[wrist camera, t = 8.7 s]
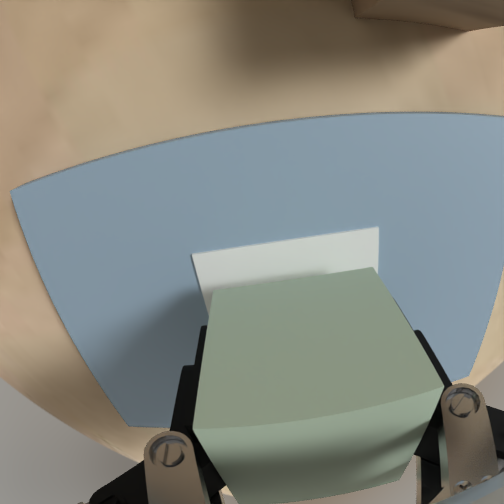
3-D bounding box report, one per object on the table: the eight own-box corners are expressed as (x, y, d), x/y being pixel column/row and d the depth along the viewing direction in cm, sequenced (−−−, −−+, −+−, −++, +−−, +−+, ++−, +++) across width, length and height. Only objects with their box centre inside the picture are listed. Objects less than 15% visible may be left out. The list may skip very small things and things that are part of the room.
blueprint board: (23, 184, 11) (8, 192, 10) (502, 116, 9) (519, 119, 8) (132, 413, 17) (127, 427, 16) (461, 364, 15) (469, 376, 14)
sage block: (213, 290, 10) (192, 428, 5) (372, 266, 10) (444, 385, 5) (241, 392, 12) (240, 505, 8) (364, 373, 12) (398, 480, 7)
